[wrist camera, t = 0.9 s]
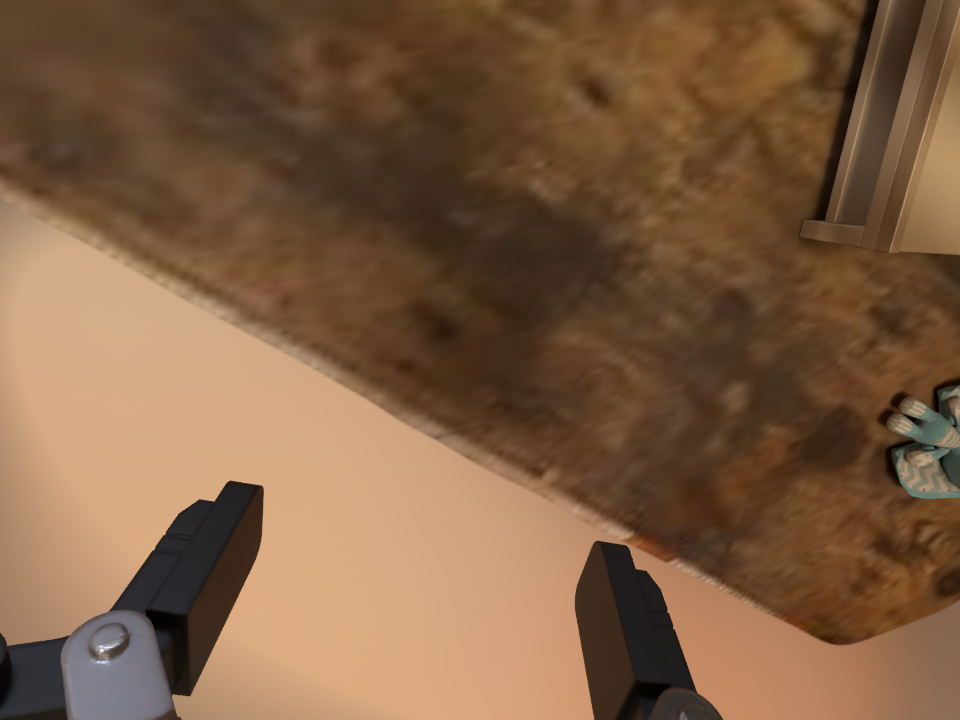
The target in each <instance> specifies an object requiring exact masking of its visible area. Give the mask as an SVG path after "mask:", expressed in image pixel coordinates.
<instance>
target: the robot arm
mask: <svg viewBox="0 0 960 720" xmlns="http://www.w3.org/2000/svg"><path fill="white" fill-rule="evenodd" d="M263 496H264V489H263V487H262V486H260V485H254V484H248V483H242V482H235V481H229V482H227V483H226V485H225V486H224V488H223V489H222V491H221V493H220V494H219V496H218V497H217V499H216V500H215V502H213V501H207V500H200V499H199V500H198V501H197V502H195V503H194V504H192V505H191V506H190V507H188V508H186V509H185V510H183V511H182V512H181V513H179V514H178V516H177V517H176V519H175V520H174V521H173V523H172V524H171V526H170V527H169V528H168V530H167V531H166V534H165V535H164V536H163V537H162V538H161V540H160V541H159V542H158V544H157V545H156V547H155V550H153V551H152V552H151V554H150V555H149V557H148V558H147V559H146V561H145V562H144V564H143V565H142V566H141V568H140V569H139V571H138V572H137V573H136V575H135V576H134V578H133V579H132V581H131V582H130V583H129V585H128V587H126V589H125V590H124V592H123V593H122V595H121V596H120V598H119V599H118V600H117V602H116V603H115V604H114V606H113V607H112V608H111V609H110V611H109V612H107V613H103V614H101V615H98V616H96V617H94V618H92V619H90V620H88V621H87V622H85V623H84V624H82V625H81V626H80V627H78V628H77V629H76V630H75V631H74V632H73V633H72V634H71V635H70V636H66V637H63V638H58V639H53V640H46V641H39V642H32V643H25V644H18V645H11V646H7V643H6V641H5V638H4V637H3V636H2V634H0V720H182V719H181V718H180V717H177V714H176V711H175V708H174V703H173V700H172V695H173V694H175V695H183V696H190V695H191V693H192V691H193V689H194V687H195V685H196V683H197V681H198V679H199V677H200V675H201V673H202V671H203V668H204V666H205V664H206V662H207V660H208V658H209V656H210V654H211V652H212V650H213V648H214V646H215V643H216V641H217V639H218V637H219V635H220V633H221V631H222V629H223V627H224V625H225V623H226V621H227V618H228V616H229V614H230V612H231V610H232V608H233V606H234V604H235V602H236V600H237V598H238V596H239V593H240V591H241V589H242V587H243V585H244V583H245V581H246V579H247V577H248V575H249V573H250V571H251V568H252V566H253V564H254V562H255V560H256V557H257V554H258V551H259V547H260V543H261V537H262V520H263ZM575 611H576V618H577V623H578V629H579V635H580V640H581V646H582V652H583V657H584V663H585V669H586V675H587V680H588V685H589V691H590V697H591V703H592V709H593V714H594V720H723V719H722V717H721V715H720V714H719V712H718V711H717V710H716V709H715V707H714V706H713V705H712V704H711V703H710V702H709V701H707V700H706V699H705V698H704V697H702V696H701V695H699V694H698V693H697V691H696V689H695V686H694V683H693V680H692V677H691V675H690V672H689V669H688V666H687V663H686V661H685V657H684V654H683V652H682V649H681V646H680V643H679V640H678V637H677V635H676V632H675V630H674V629H673V623H672V621H671V618H670V615H669V613H667V606H666V603H665V601H664V598H663V595H662V592H661V589H660V588H659V587H658V585H657V584H656V583H655V582H654V580H653V579H652V578H651V576H650V575H649V574H648V573H647V571H643V570H637V569H635V566H634V562H633V559H632V556H631V553H630V550H629V548H628V547H627V546H626V545H620V544H614V543H607V542H602V541H596V542H594V544H593V546H592V548H591V551H590V553H589V556H588V558H587V562H586V564H585V566H584V569H583V571H582V574H581V577H580V579H579V582H578V585H577V588H576V594H575Z"/></svg>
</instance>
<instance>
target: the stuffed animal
mask: <svg viewBox="0 0 960 720" xmlns="http://www.w3.org/2000/svg"><path fill="white" fill-rule="evenodd" d="M937 393H938V403H939V413H938V412H934V411H932V410H931V409H930V408H929V407H928V406H927V404H926V403H924V402H922V401H921V400H919V399H917V398H915V397H906V398H905V399H903V400H902V401H901V403H900V405H899V407H898V408H899V409H900V411H901V412H903V413H905V414H906V415H909V416H911V417H914V418H918V419H917V420H915V422H914V423H913V422H912V421H911V420H909V419H908V418H906V417H905V416H903V415H901V414H892V415H891V416H890V417H889V418H888V420H887V423H886V426H887V427H888V429H890V430H891V431H893V432H895V433H897V434H899V435H902V436H907V437H912V438H913V439H914V440H915V441H917V442H916V443H912V444H909V445H906V446H902V447H899V448H895V449H892V455H891V457H892V460H893V463H894V467H895V470H896V473H897V476H898V479H899V481H900V483H901V484H902V486H903V487H904V488H905V489H906V490H907V492H908V493H909V494H910V495H911V496H914V497H919V498H924V499H934V498H960V385H956V386H950V387H945V388H943V389H941V390H939V391H937ZM949 422H950V423H951V424H952V425H955V426H952V425H951V424H950V423H949ZM919 442H920V443H919ZM922 443H924V444H922ZM925 444H927V445H925ZM928 445H933V446H937V449H935V448H934V447H931V446H928ZM942 456H943V458H942V460H941V458H940V457H942Z"/></svg>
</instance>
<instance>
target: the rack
mask: <svg viewBox="0 0 960 720" xmlns="http://www.w3.org/2000/svg"><path fill="white" fill-rule="evenodd" d="M800 237H802V238H807V239H813V240H819V241H824V242H830V243H835V244H841V245H847V246H852V247H858V248H864V249H869V250H875V251H880V252H886V253H898V252H914V253H932V254H950V255H960V0H879V4H878V8H877V12H876V16H875V21H874V25H873V29H872V33H871V37H870V41H869V45H868V49H867V53H866V57H865V61H864V65H863V69H862V73H861V77H860V81H859V85H858V89H857V93H856V97H855V101H854V105H853V109H852V113H851V117H850V121H849V125H848V129H847V133H846V137H845V141H844V145H843V149H842V153H841V157H840V161H839V165H838V169H837V173H836V177H835V181H834V185H833V189H832V193H831V197H830V202H829V206H828V210H827V214H826V218H825V221H814V220H803V223H802V228H801V232H800Z"/></svg>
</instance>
